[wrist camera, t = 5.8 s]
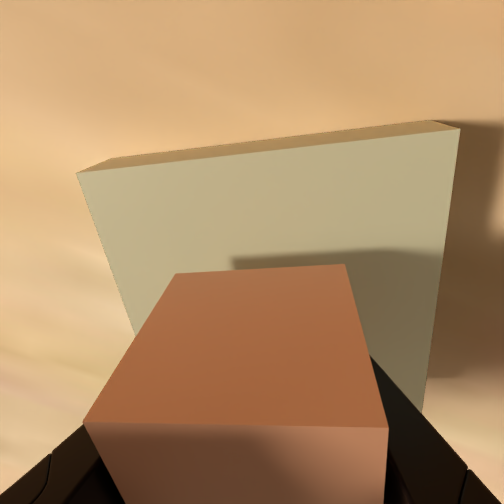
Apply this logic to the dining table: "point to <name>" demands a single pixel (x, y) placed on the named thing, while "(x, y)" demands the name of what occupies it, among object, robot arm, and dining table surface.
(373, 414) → the orange brown cube
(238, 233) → the base plate
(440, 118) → the dining table surface
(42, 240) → the dining table surface
